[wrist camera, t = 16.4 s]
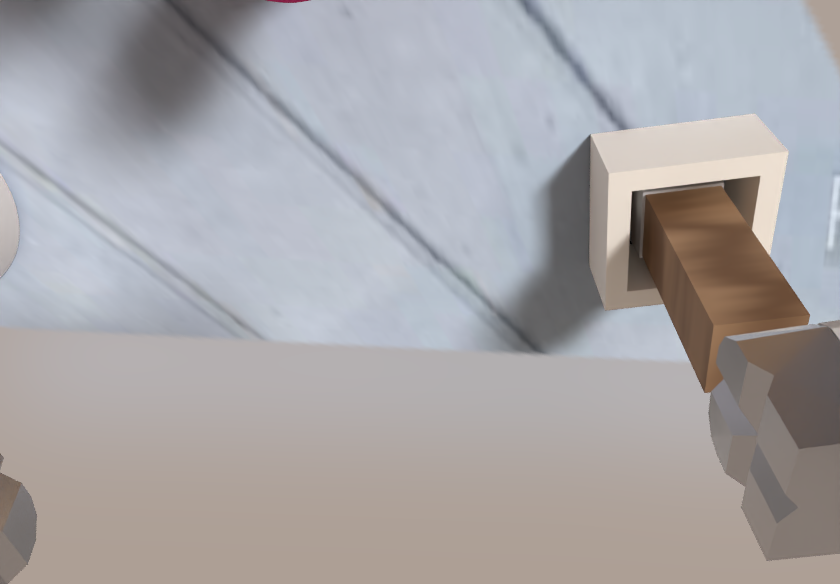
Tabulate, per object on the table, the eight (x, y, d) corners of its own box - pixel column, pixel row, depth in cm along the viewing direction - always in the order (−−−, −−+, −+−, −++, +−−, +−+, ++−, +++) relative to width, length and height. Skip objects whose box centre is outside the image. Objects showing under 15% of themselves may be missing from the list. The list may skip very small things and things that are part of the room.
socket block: (589, 265, 48) (605, 310, 44) (590, 134, 42) (608, 173, 39) (734, 248, 47) (763, 292, 44) (754, 113, 42) (788, 151, 38)
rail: (626, 229, 46) (700, 395, 35) (629, 166, 44) (710, 323, 33) (699, 221, 46) (797, 385, 35) (706, 156, 43) (814, 311, 32)
